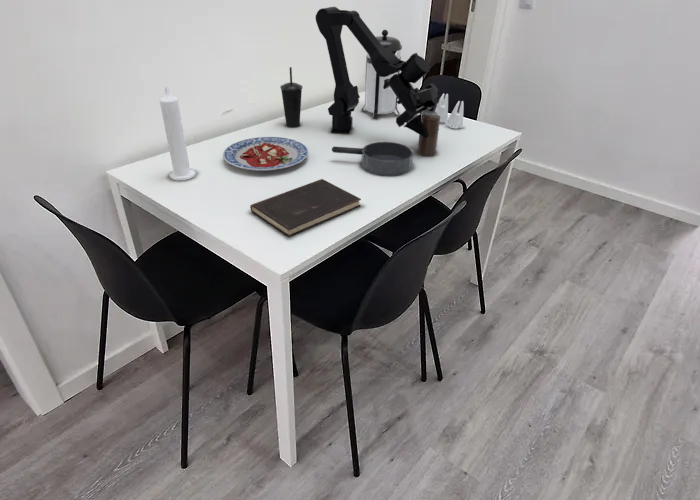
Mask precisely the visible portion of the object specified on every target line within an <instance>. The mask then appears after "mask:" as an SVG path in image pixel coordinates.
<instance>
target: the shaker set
mask: <svg viewBox="0 0 700 500" xmlns="http://www.w3.org/2000/svg"><path fill="white" fill-rule="evenodd" d="M438 101H439V103H438V104H436V105H437V107H436V109H435V112H437V113H438V115H439V116H440V123H441V124H443V123H444V122H445V126H447V127H449V128H451V129H456V130H458V129H463V126H464V125H463V124H464V111H465V108H464V107H465V106H464V105H465V104H464V100H462V101H461V100H458V101H457V102H456V104H455V106H454V107H453V110H452V111H451V113H450V114H449V93H446V94H445V93H442V95H441V96H440V97H439V99H438ZM440 123H439V124H440Z"/></svg>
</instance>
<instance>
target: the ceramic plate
mask: <svg viewBox="0 0 700 500" xmlns="http://www.w3.org/2000/svg"><path fill="white" fill-rule="evenodd" d="M308 155H309V150H308V147H307V146H306V145H305V144H303V143H302V142H301V141H298V140H295V139H292V138H288V137H280V136H258V137H251V138H246V139H241V140H239V141H236V142H233V143H232V144H230V145H228V146H227V147H226V148H225V149H224V150H223V151H222V159H223V160H224V161H225V162H226V163H227V164H229V165H231V166H232V167H235V168H238V169H243V170H248V171H261V172H265V171H275V170H281V169H286V168H290V167H293V166H295V165H298V164H300V163H301V162H303V161H304V160H305V159H307V157H308Z"/></svg>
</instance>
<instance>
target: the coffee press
mask: <svg viewBox="0 0 700 500" xmlns="http://www.w3.org/2000/svg"><path fill="white" fill-rule="evenodd" d="M388 35H389V31H388V30H387V29H383V30H382V32H381V35H379V36H375V37H376V38H377V40H378V41H379V42H380V44H381V45H382V46H383V47H385V48H387V49H388V50H390V51H391V52H392V53H393V54H394V55H396V56H397V57H398V59H399V60H402V59H401V58H402V57H401V52H402V49H403V45H402V43H401V41H400V40H399V39H398V38H396V37H394V36H388ZM400 73H401V71H399V72H396V73H394V74H400ZM394 74H392V75H389V76H386V77H380V76H379V75H378V74H377V73H376V71H375V69H374V68H373V66H372V64H371V59H370V56H369V54H368V53H367V52H366V59H365V93H364V106H363V107H362V108H361V111H362V112H363V113H365V112H366V111H368V112H369V113H372V114H373V116H372V119H373V120H378V117H379V115H388V114H393V115H394V116H395V117H398V116H399V115H401V114H400V113H401V112H400V111H399V110H398V103H397V101H398V98H397V97H396V95H395V94H394V92H393V91H392V89H391V88H390V87H388V88H386V89H383V86H384V80H385V79H390V78H391V77H392V76H393V75H394ZM364 108H365V110H364ZM395 111H396V112H395Z"/></svg>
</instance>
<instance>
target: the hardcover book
mask: <svg viewBox="0 0 700 500" xmlns="http://www.w3.org/2000/svg"><path fill="white" fill-rule="evenodd" d="M361 200H362V198H360V197H359V196H356V195H354V194H352V193H350V192H348V191H346V190H345V189H343V188H342V187H341V188H340V187H339V186H337V185H336V184H333V183H331V182H329V181H327V180H325V179H323V178H320V179H318V180H315V181H312V182H310V183H306V184H304V185H301V186H298V187H296V188H293V189H290V190H287V191H285V192H282V193H280V194H279V193H278V194H277V195H274V196H271V197H268V198H265V199H263V200H260V201H257V202H255V203H252V204H250V207H249V208H250V212H251V213H252V214H254V215H255V217H258V218H259V219H261V220H262V221H264V222H265V223H267V224H268V225H269V226H271V227H273V228H274V229H276V230H277V231H279V232H280V233H282V234H283V235H284V236H286V237H287V238H291V237H293V236H296V235H299V234H301V233H303V232H305V231H308V230H309V229H312V228H315V227H316V226H319V225H321V224H324V223H326V222H328V221H331V220H333V219H335V218H337V217H339V216H342V215H344V214H346V213H349V212H352V211H353V210H356V209H358V208H360V207H362V205H360V202H361Z"/></svg>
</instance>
